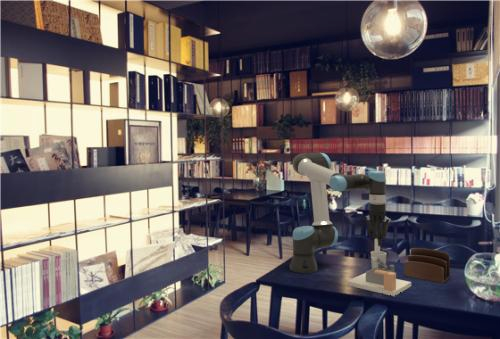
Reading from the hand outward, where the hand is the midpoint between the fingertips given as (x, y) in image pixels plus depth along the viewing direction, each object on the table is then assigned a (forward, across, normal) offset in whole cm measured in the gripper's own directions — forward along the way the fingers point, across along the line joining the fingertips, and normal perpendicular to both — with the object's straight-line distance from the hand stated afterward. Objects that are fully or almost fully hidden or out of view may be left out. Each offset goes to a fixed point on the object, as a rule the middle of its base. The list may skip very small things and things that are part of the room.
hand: (377, 252), depth 207 cm
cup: (+17, -8, +18) cm, 26 cm away
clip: (+15, +7, -5) cm, 17 cm away
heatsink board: (+17, 0, +2) cm, 17 cm away
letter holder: (+17, +12, +31) cm, 37 cm away
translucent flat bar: (+6, 0, +3) cm, 7 cm away
